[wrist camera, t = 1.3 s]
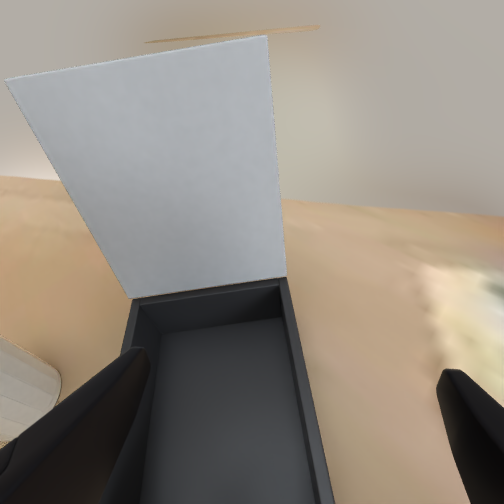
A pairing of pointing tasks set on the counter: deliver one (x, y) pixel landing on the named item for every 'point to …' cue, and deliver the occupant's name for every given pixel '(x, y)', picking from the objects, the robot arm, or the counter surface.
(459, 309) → the counter surface
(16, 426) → the white cup
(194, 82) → the grey flat rectangular panel
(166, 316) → the dark grey open box
